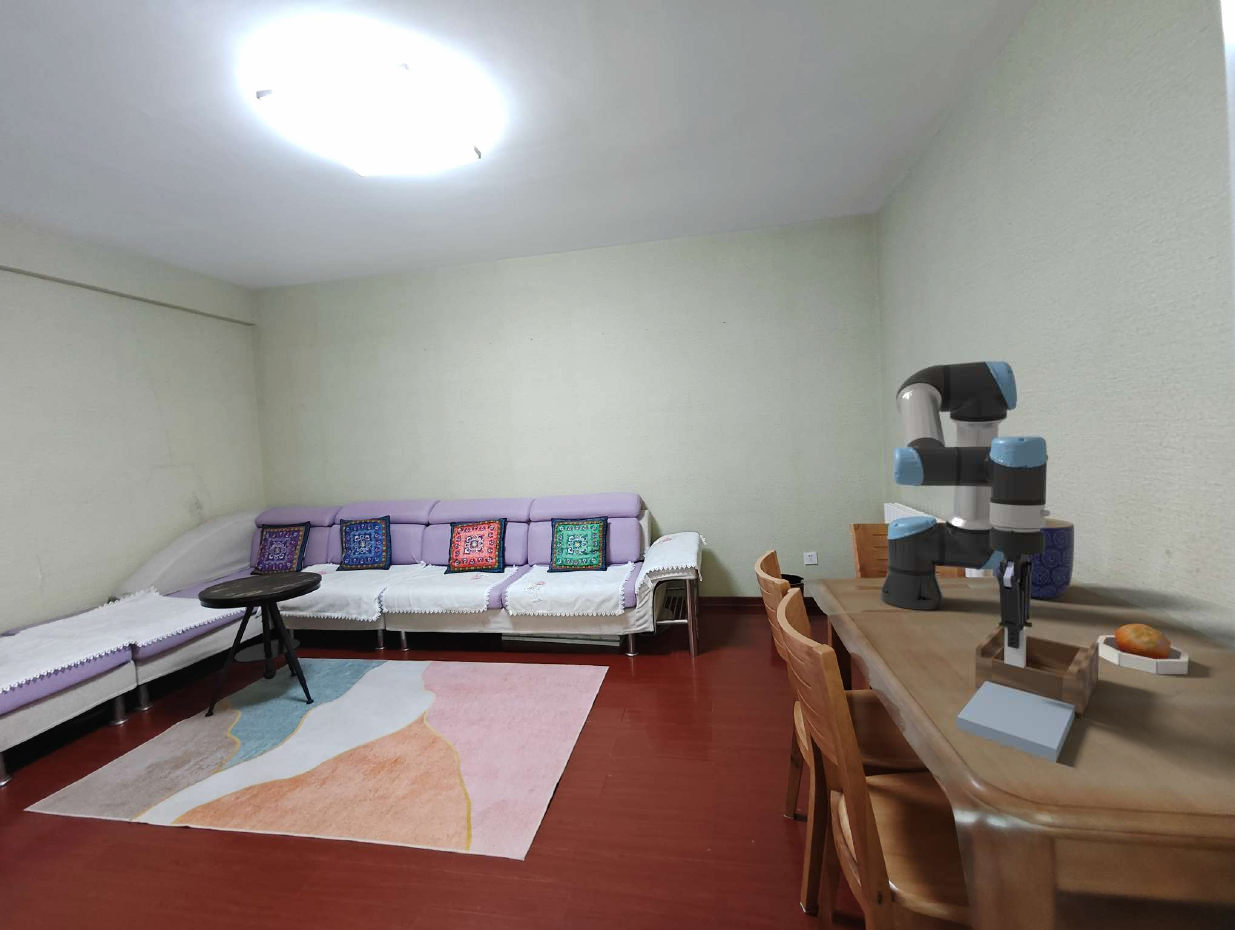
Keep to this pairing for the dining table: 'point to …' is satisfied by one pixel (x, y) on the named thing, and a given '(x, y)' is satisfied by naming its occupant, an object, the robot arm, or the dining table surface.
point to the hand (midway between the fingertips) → (1014, 663)
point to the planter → (1052, 561)
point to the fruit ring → (1143, 658)
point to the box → (1041, 669)
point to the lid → (1018, 720)
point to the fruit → (1142, 641)
